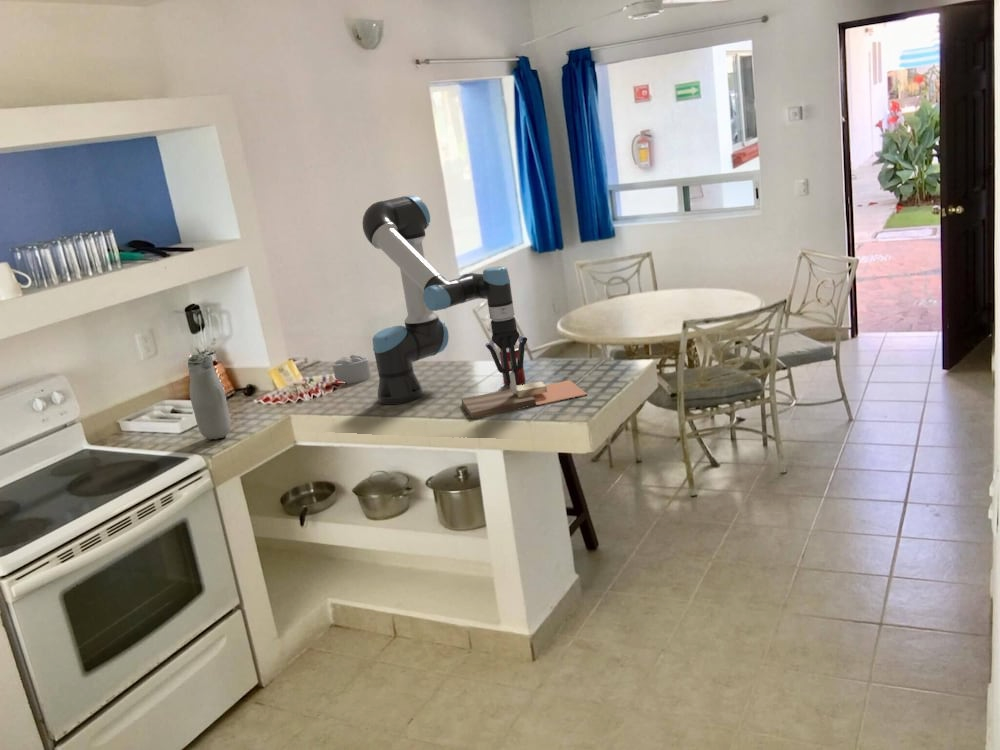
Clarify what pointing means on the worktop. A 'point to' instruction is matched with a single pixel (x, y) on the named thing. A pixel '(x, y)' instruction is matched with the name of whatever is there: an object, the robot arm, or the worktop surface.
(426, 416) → the worktop surface
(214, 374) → the grey vase
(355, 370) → the lumpy-topped squat cylinder
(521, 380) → the soda can
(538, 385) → the birch tile
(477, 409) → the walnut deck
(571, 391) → the terracotta mat
